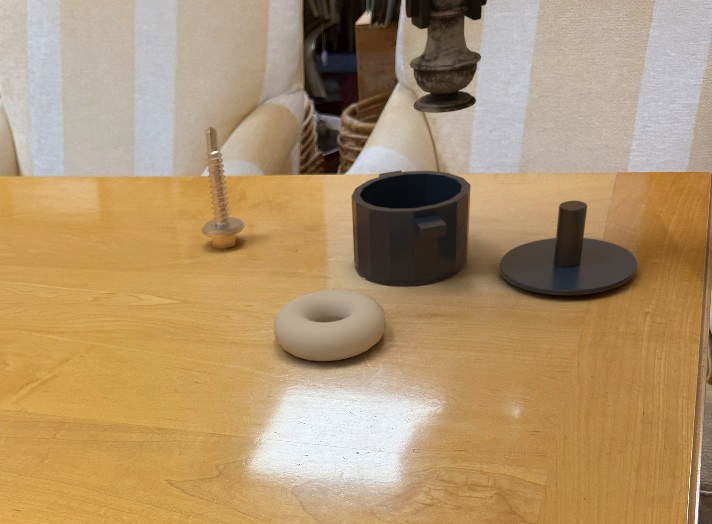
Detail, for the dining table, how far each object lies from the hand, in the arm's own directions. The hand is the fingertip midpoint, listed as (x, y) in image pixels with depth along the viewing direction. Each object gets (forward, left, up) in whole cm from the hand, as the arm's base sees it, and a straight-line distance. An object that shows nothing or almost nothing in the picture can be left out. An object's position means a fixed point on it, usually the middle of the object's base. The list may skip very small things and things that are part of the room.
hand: (445, 19), depth 75 cm
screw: (+20, -18, -23) cm, 35 cm away
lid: (-11, +3, -23) cm, 25 cm away
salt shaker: (0, 0, -7) cm, 7 cm away
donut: (+13, +9, -23) cm, 28 cm away
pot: (+2, -5, -23) cm, 24 cm away
